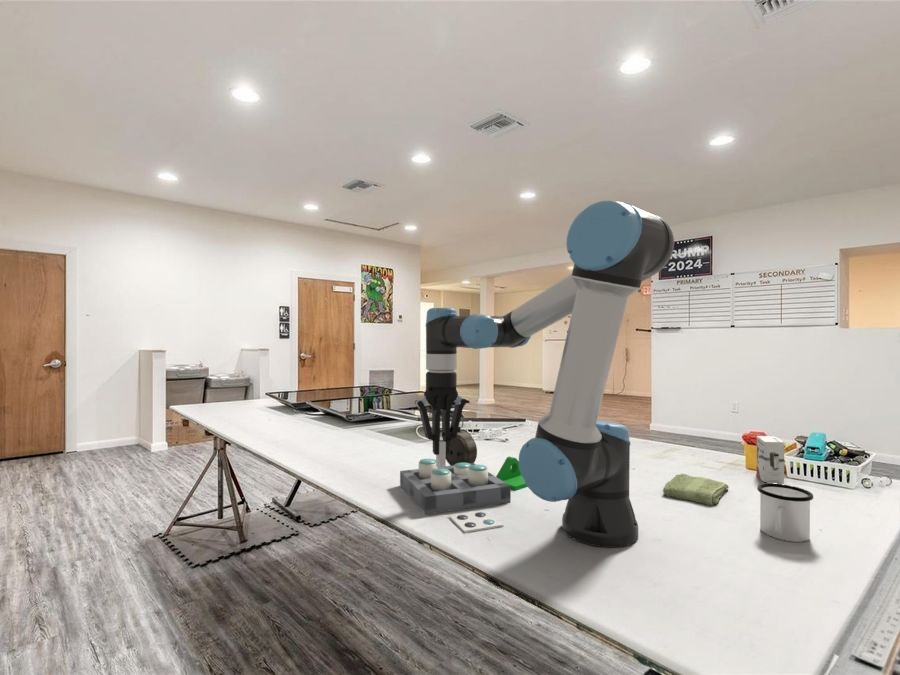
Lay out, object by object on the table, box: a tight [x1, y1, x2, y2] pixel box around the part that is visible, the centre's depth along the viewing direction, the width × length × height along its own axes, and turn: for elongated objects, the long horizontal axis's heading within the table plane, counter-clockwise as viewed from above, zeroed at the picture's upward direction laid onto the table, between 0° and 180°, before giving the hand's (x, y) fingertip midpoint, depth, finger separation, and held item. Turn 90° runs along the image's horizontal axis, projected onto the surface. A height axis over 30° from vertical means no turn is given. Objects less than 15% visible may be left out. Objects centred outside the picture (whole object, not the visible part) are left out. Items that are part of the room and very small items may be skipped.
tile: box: [448, 509, 504, 534], centre depth 103 cm, size 9×9×1 cm
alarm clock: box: [446, 418, 478, 466], centre depth 142 cm, size 11×5×16 cm, turn 45°
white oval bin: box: [756, 483, 814, 543], centre depth 96 cm, size 12×10×9 cm
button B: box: [418, 458, 438, 479], centre depth 124 cm, size 5×5×4 cm
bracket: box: [495, 456, 528, 492], centre depth 131 cm, size 12×8×7 cm, turn 132°
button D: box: [454, 463, 471, 476], centre depth 128 cm, size 5×5×4 cm
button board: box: [399, 462, 512, 515], centre depth 122 cm, size 22×22×4 cm
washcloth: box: [662, 473, 729, 506], centre depth 123 cm, size 13×18×3 cm
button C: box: [468, 464, 489, 487], centre depth 119 cm, size 5×5×4 cm
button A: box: [431, 469, 451, 492], centre depth 115 cm, size 5×5×4 cm
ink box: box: [756, 435, 785, 485], centre depth 134 cm, size 9×5×12 cm, turn 161°
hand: (440, 467), depth 115 cm, fingers closed
